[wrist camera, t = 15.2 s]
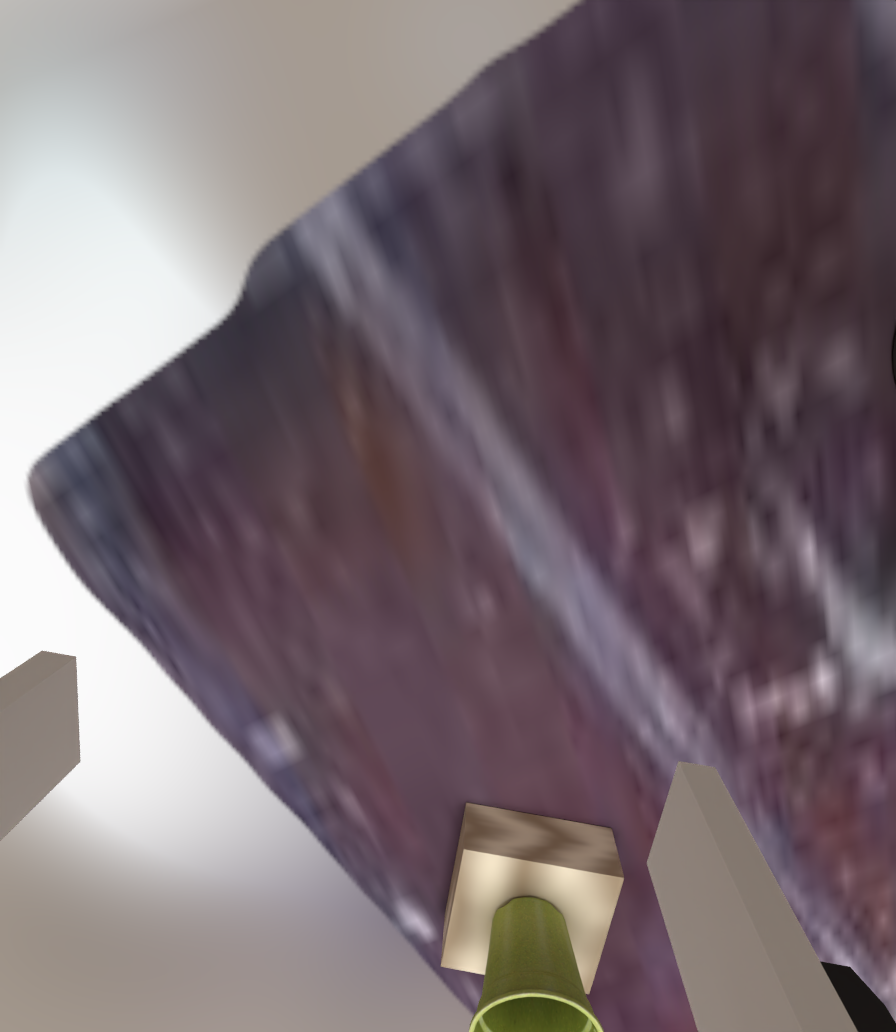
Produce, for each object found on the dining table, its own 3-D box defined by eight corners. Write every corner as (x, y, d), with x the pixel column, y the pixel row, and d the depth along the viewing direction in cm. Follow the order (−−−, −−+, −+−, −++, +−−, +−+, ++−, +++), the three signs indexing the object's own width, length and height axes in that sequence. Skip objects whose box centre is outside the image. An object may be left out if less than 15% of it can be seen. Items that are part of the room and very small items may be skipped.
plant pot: (583, 969, 49) (602, 1096, 40) (472, 962, 49) (469, 1085, 41) (588, 882, 46) (610, 998, 38) (472, 876, 47) (468, 989, 39)
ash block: (611, 828, 51) (624, 878, 46) (580, 937, 54) (589, 994, 49) (466, 802, 51) (463, 849, 46) (445, 912, 55) (440, 966, 50)
